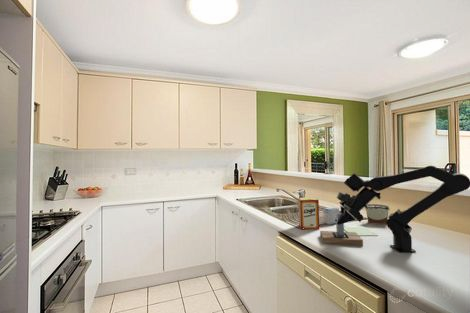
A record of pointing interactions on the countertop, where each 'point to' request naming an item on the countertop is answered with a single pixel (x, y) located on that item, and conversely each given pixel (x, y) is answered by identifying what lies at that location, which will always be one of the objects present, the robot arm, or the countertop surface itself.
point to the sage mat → (359, 230)
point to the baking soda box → (308, 213)
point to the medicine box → (330, 215)
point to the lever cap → (339, 226)
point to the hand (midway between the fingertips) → (336, 222)
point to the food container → (377, 213)
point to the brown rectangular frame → (350, 239)
